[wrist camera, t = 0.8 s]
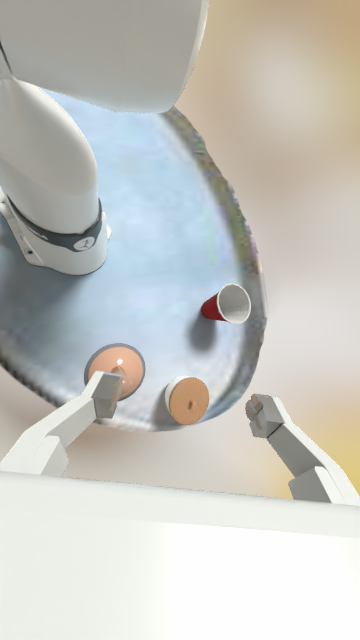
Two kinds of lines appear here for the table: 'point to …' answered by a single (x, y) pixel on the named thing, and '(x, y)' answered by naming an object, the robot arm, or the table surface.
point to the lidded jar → (186, 399)
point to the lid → (120, 367)
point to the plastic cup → (228, 305)
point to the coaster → (112, 347)
